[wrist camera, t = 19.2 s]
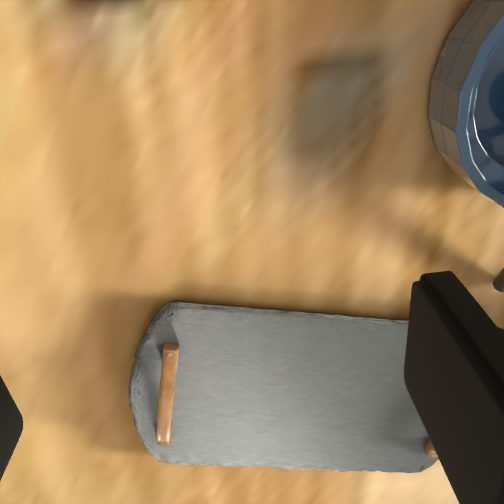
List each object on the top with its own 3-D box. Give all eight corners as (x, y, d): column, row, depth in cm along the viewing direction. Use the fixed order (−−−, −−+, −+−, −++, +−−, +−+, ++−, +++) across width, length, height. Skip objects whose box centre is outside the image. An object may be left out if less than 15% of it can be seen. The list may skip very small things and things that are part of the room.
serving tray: (513, 314, 47) (550, 356, 42) (436, 455, 59) (457, 502, 53) (134, 281, 42) (122, 324, 37) (131, 442, 54) (121, 492, 49)
